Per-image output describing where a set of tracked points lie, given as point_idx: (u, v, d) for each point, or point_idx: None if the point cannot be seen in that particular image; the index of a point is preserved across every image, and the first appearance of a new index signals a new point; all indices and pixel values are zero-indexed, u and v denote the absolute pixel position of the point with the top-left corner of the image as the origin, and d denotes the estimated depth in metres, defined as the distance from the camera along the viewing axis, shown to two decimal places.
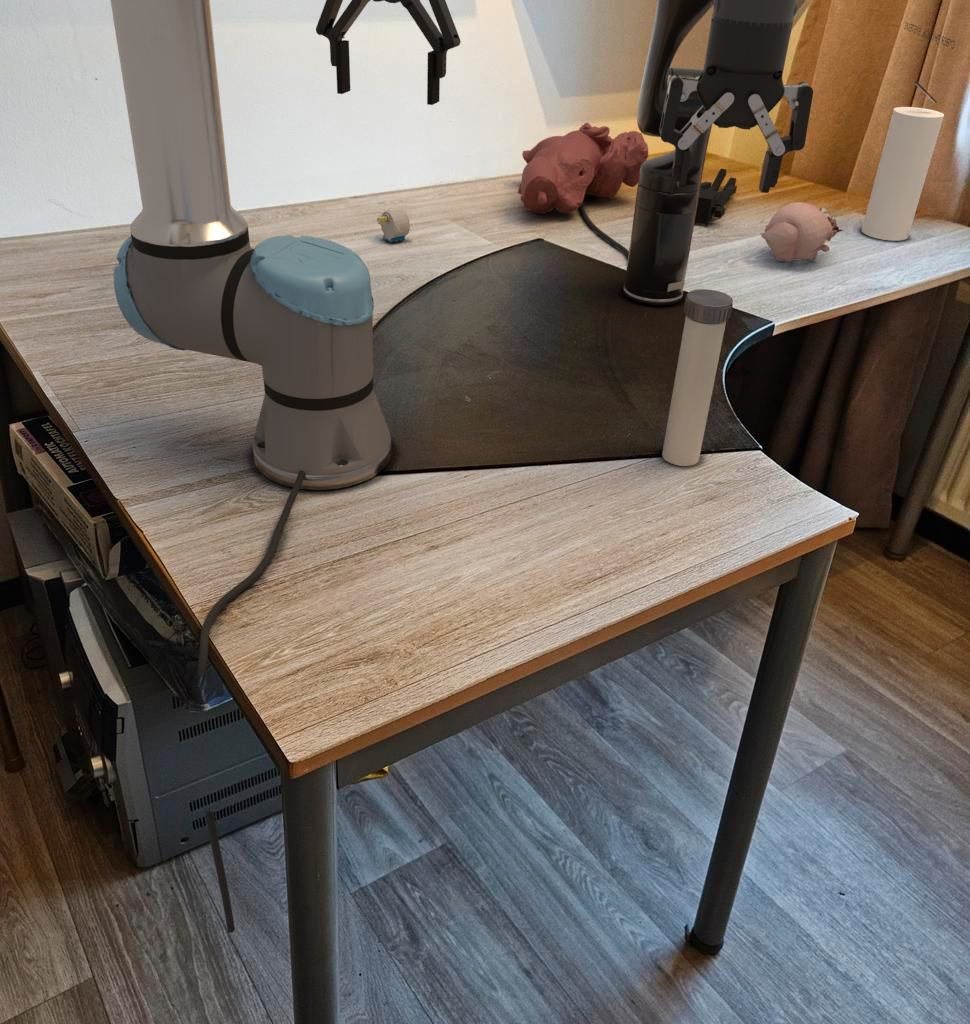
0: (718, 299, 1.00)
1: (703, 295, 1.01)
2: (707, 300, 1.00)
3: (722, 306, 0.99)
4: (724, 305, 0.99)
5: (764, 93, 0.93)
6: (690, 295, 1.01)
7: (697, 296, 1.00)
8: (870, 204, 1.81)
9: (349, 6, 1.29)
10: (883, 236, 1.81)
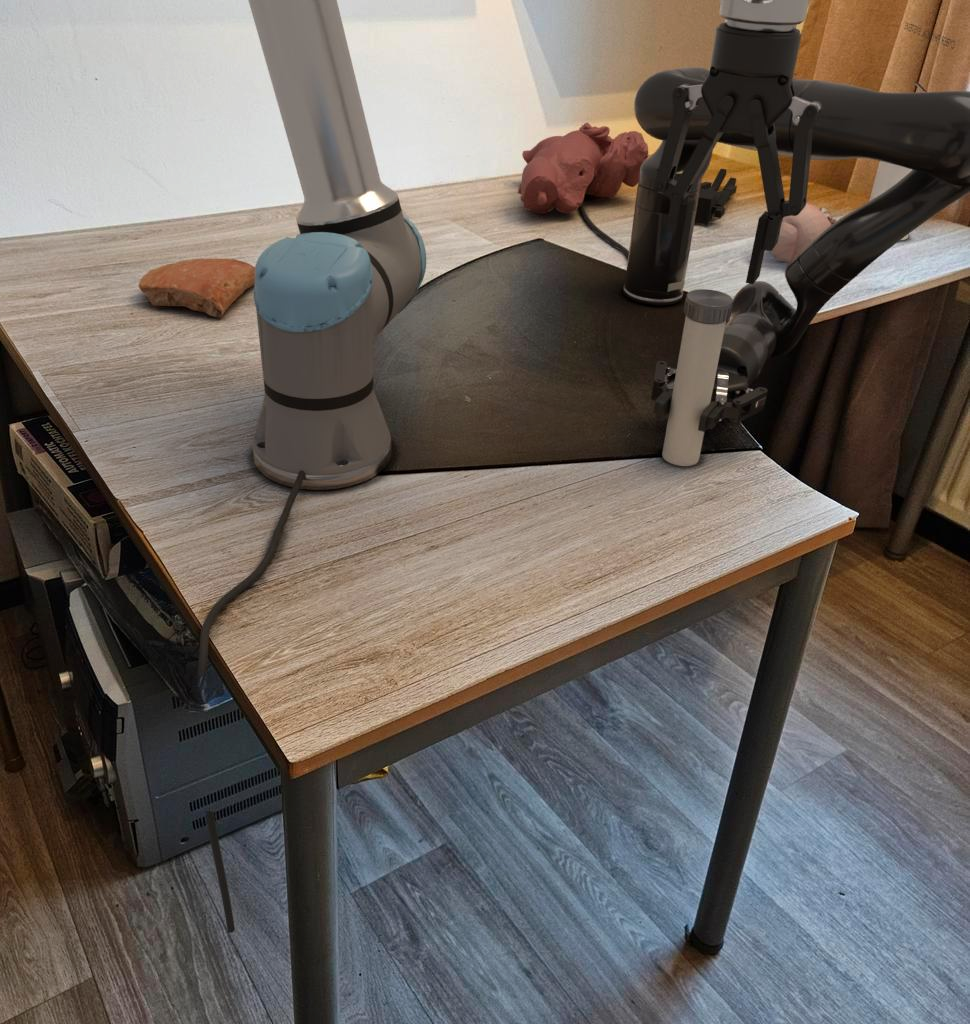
0: (718, 299, 1.00)
1: (703, 295, 1.01)
2: (707, 300, 1.00)
3: (722, 306, 0.99)
4: (724, 305, 0.99)
5: None
6: (690, 295, 1.01)
7: (697, 296, 1.00)
8: None
9: None
10: None
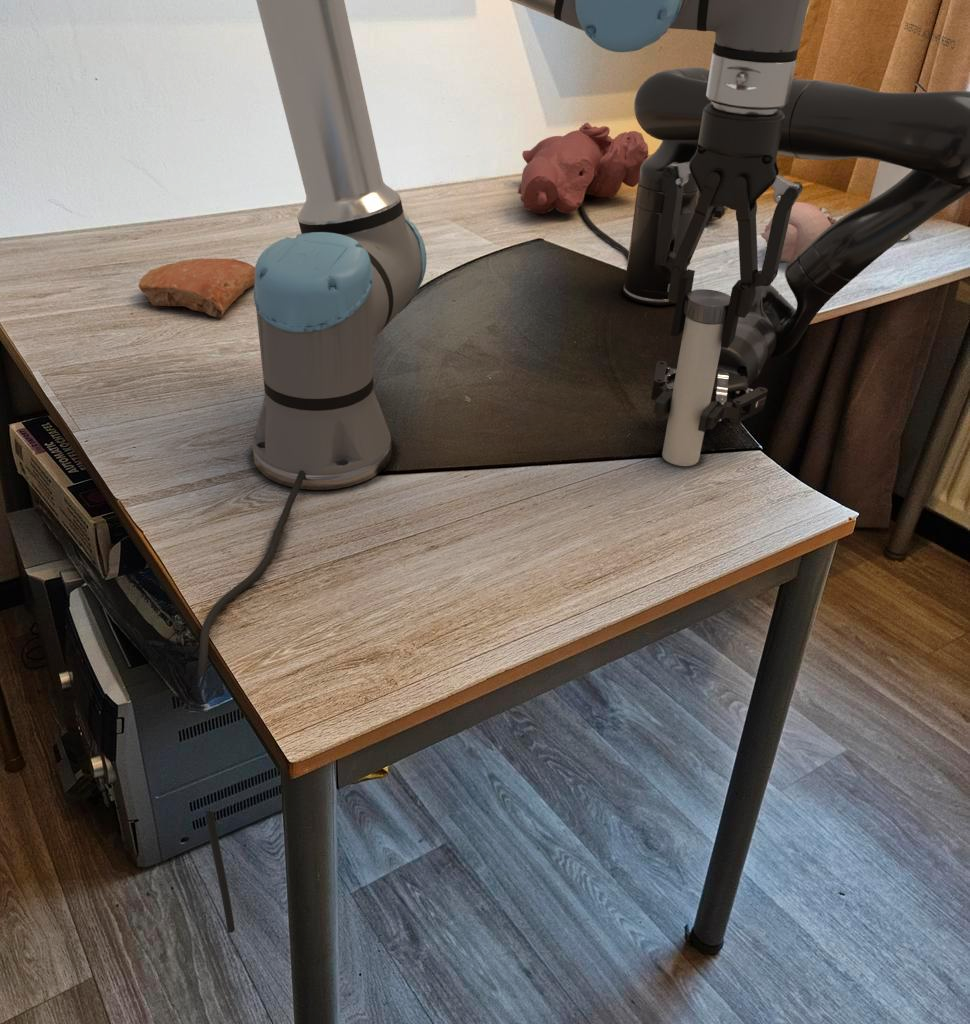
0: (718, 299, 1.00)
1: (703, 295, 1.01)
2: (707, 300, 1.00)
3: (722, 306, 0.99)
4: (724, 305, 0.99)
5: None
6: (690, 295, 1.01)
7: (697, 296, 1.00)
8: None
9: None
10: None
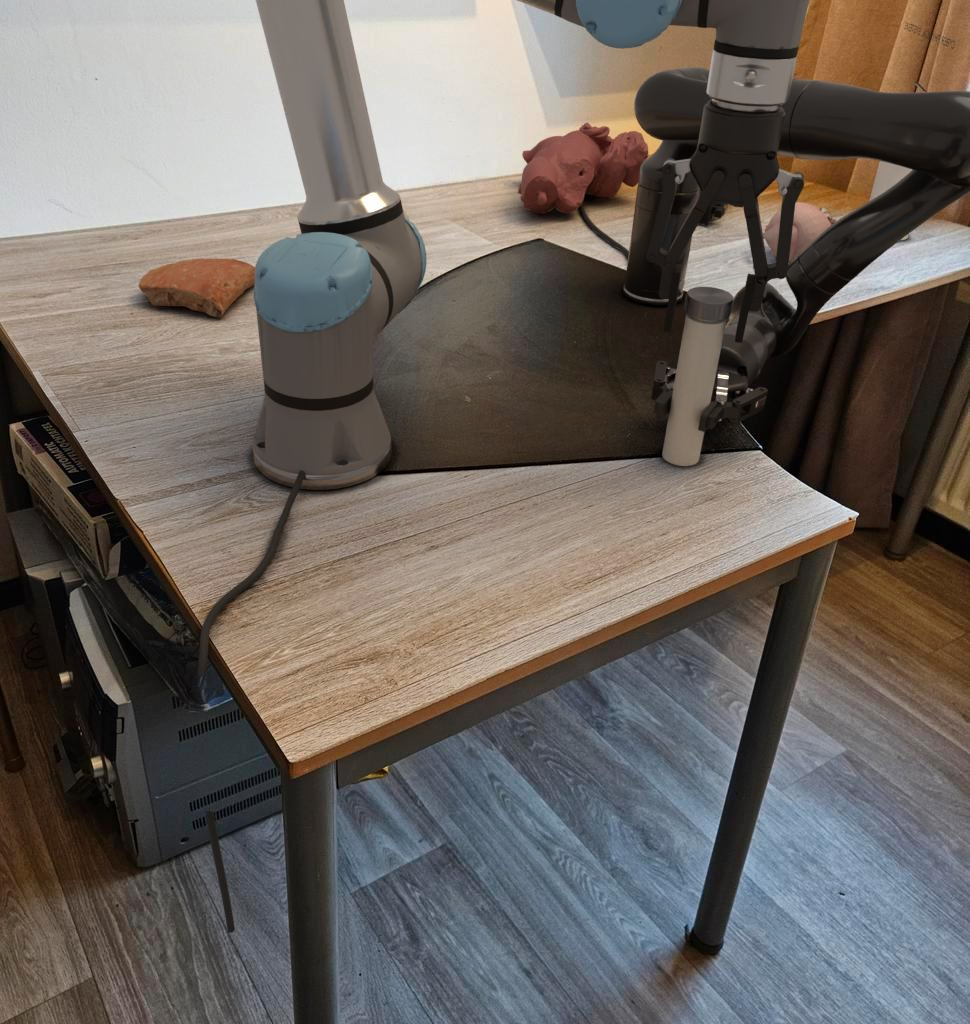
0: (711, 292, 1.01)
1: (707, 297, 1.00)
2: (719, 296, 1.00)
3: (727, 292, 1.01)
4: (724, 291, 1.01)
5: None
6: (713, 302, 0.99)
7: (712, 299, 0.99)
8: None
9: None
10: None
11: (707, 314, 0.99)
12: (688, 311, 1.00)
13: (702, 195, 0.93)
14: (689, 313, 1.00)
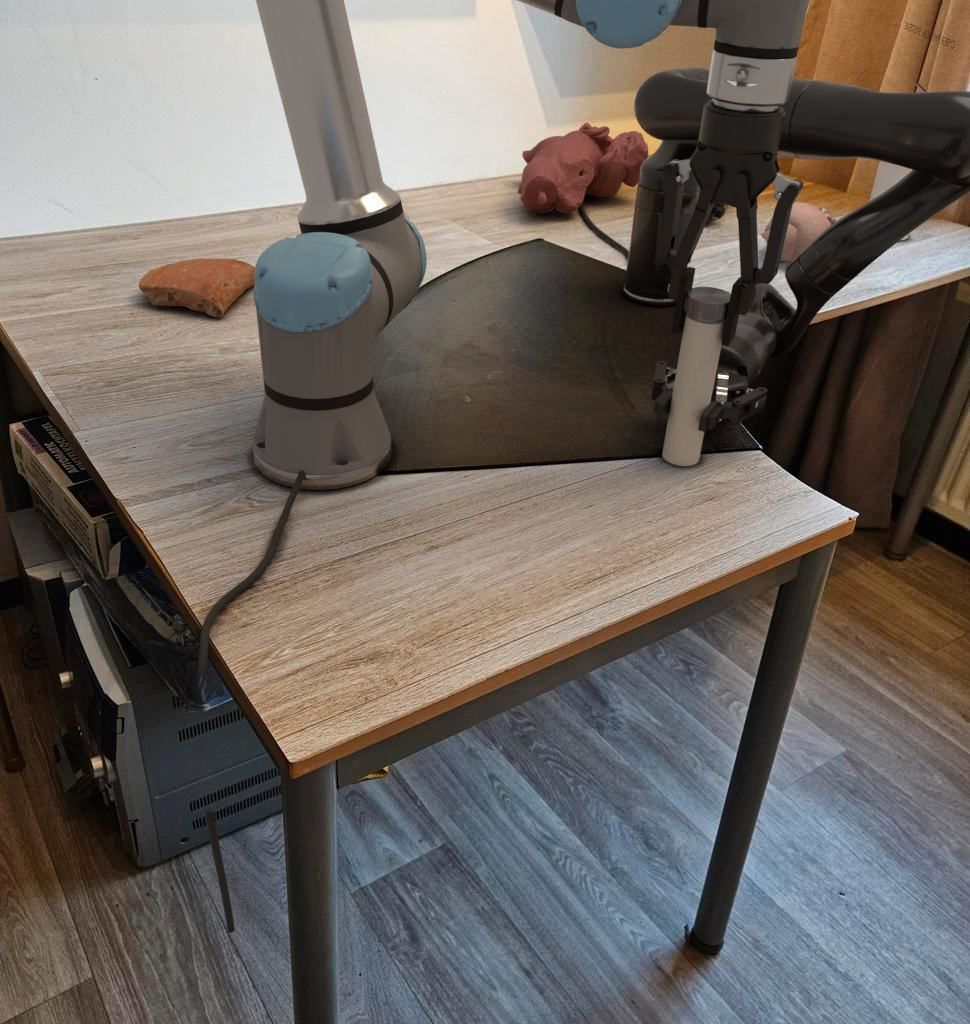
0: (711, 292, 1.01)
1: (707, 297, 1.00)
2: (719, 296, 1.00)
3: (727, 292, 1.01)
4: (724, 291, 1.01)
5: None
6: (713, 302, 0.99)
7: (712, 299, 0.99)
8: None
9: None
10: None
11: (707, 314, 0.99)
12: (688, 311, 1.00)
13: (701, 195, 0.94)
14: (689, 313, 1.00)
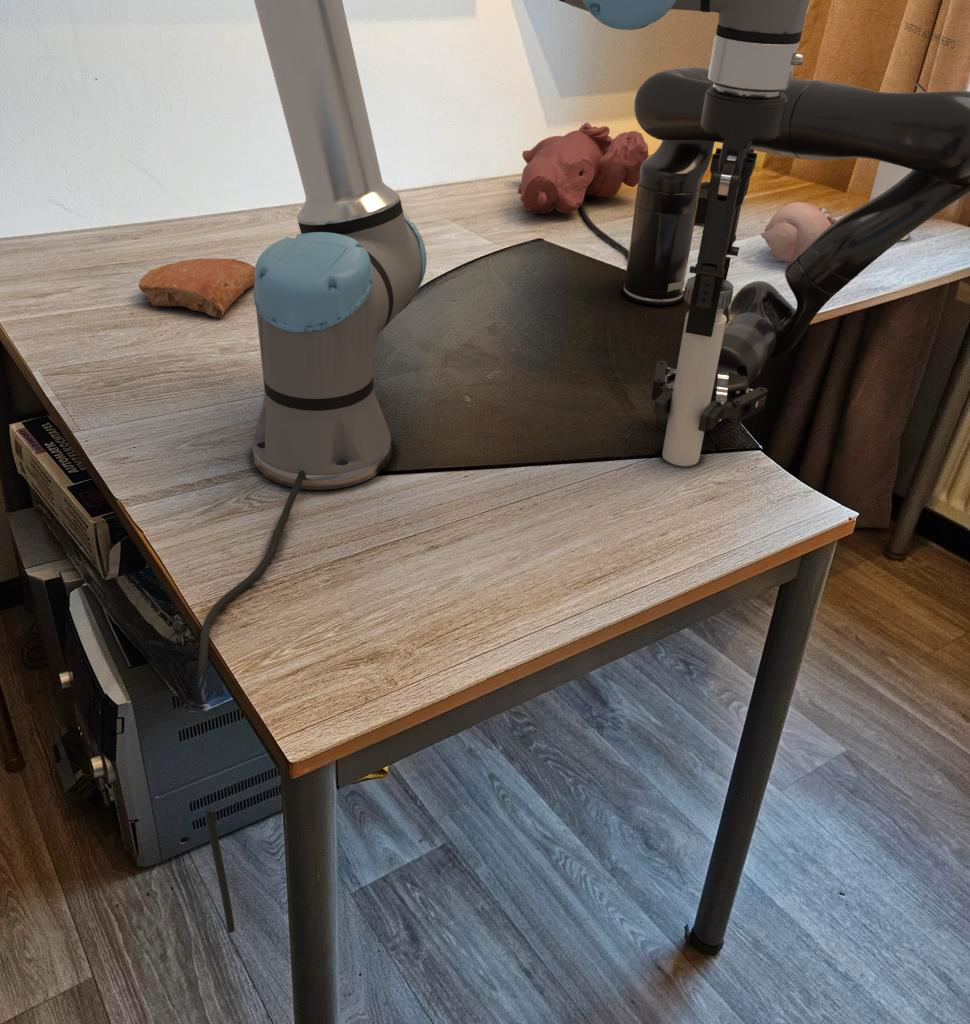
0: None
1: None
2: None
3: (692, 277, 1.01)
4: (691, 277, 1.01)
5: None
6: (728, 283, 1.00)
7: None
8: None
9: None
10: None
11: None
12: (723, 305, 0.99)
13: (745, 190, 0.92)
14: (724, 306, 0.99)
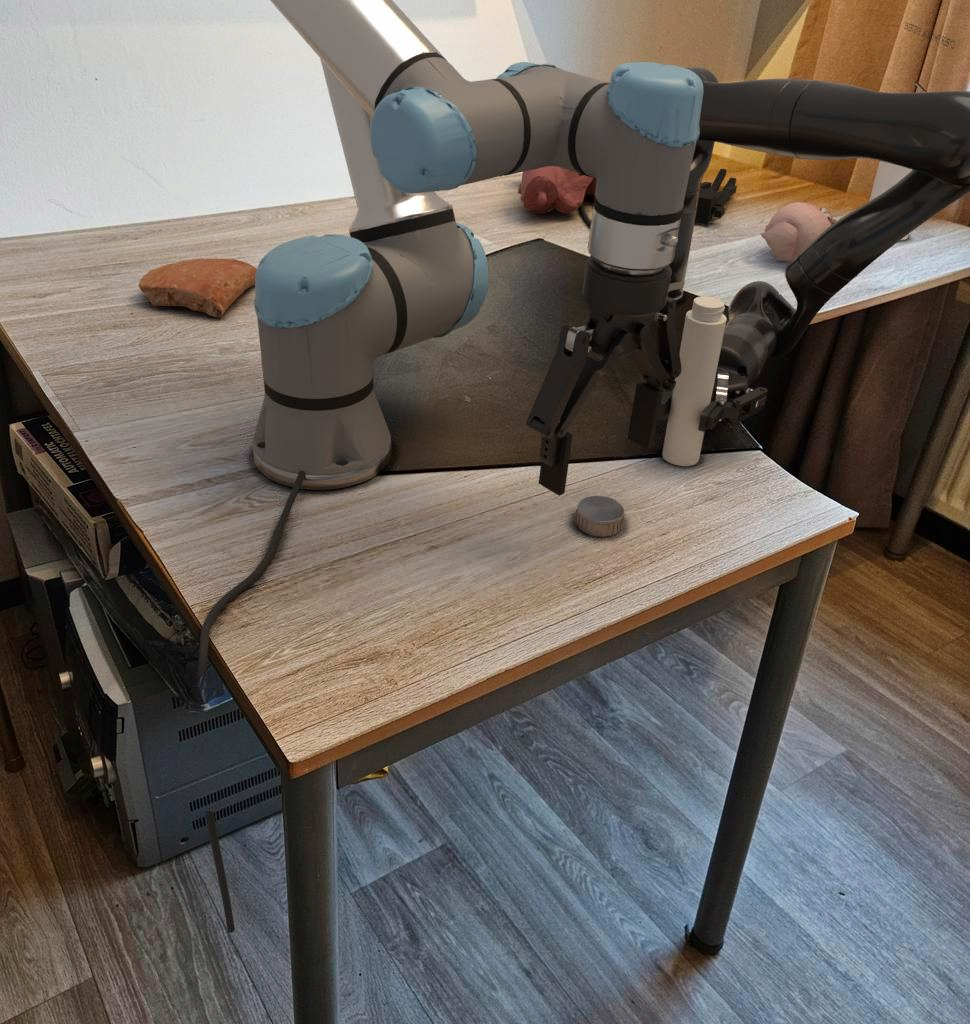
0: (593, 504, 0.99)
1: (605, 512, 0.98)
2: (605, 504, 0.99)
3: (593, 496, 1.00)
4: (591, 496, 1.00)
5: None
6: (619, 513, 0.98)
7: (613, 511, 0.98)
8: None
9: None
10: None
11: (620, 525, 0.98)
12: (603, 534, 0.97)
13: (609, 357, 0.86)
14: (604, 535, 0.97)
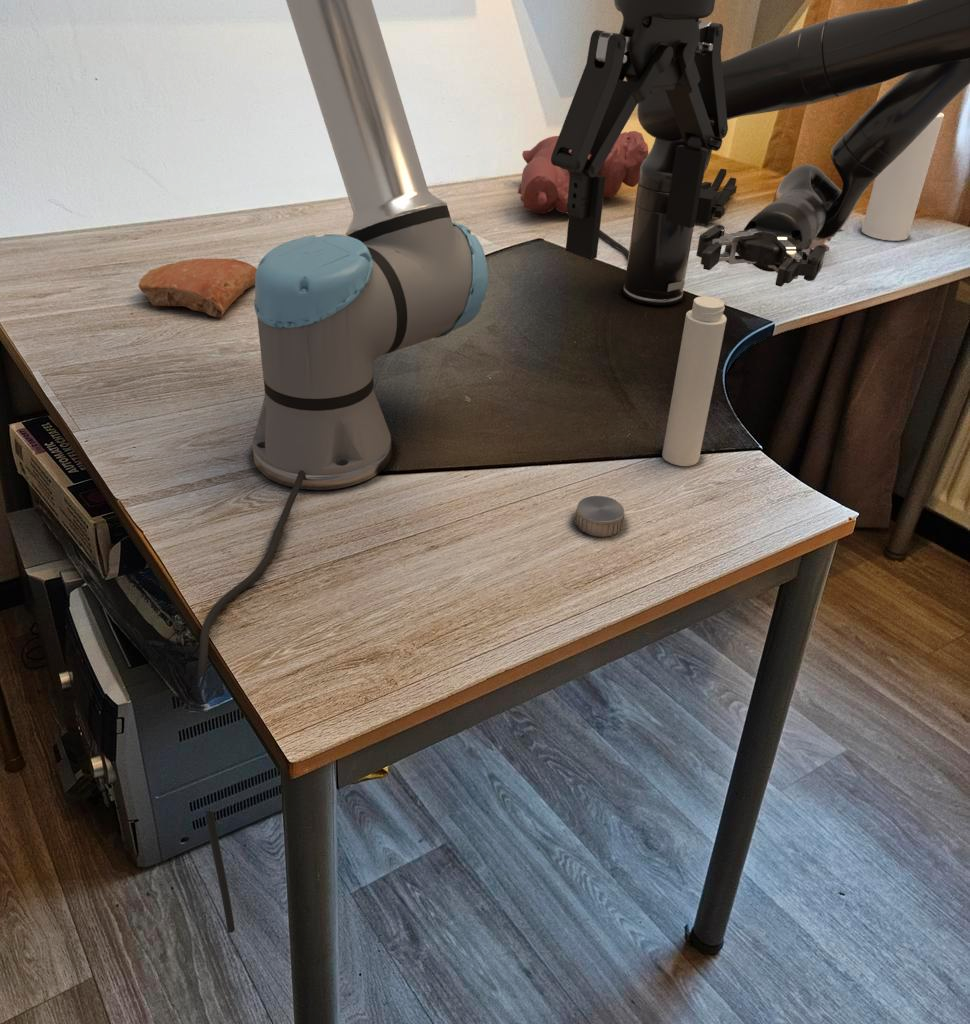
0: (593, 504, 0.99)
1: (605, 512, 0.98)
2: (605, 504, 0.99)
3: (593, 496, 1.00)
4: (591, 496, 1.00)
5: None
6: (619, 513, 0.98)
7: (613, 511, 0.98)
8: (870, 204, 1.81)
9: None
10: (883, 236, 1.81)
11: (620, 525, 0.98)
12: (603, 534, 0.97)
13: (648, 77, 0.72)
14: (604, 535, 0.97)
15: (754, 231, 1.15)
